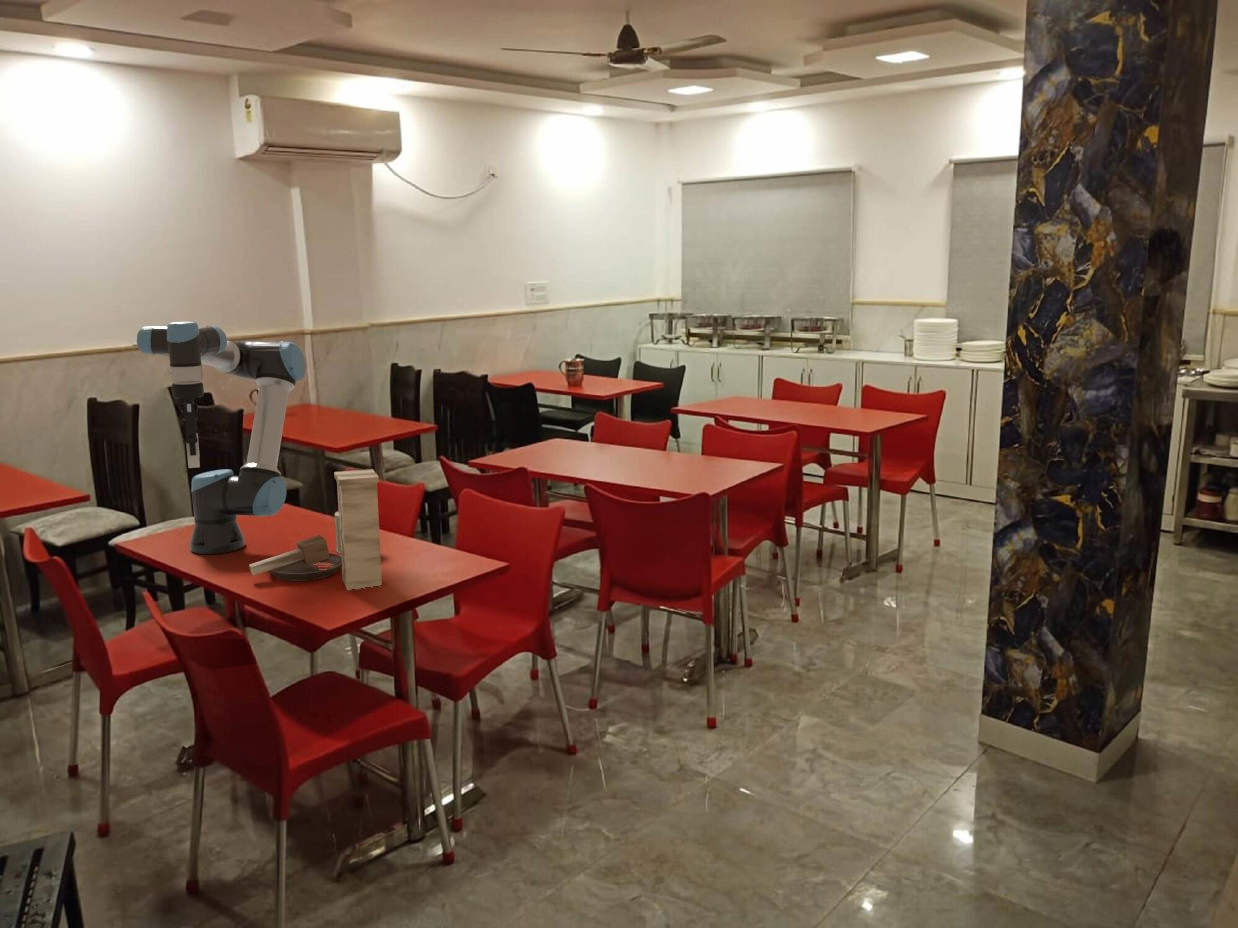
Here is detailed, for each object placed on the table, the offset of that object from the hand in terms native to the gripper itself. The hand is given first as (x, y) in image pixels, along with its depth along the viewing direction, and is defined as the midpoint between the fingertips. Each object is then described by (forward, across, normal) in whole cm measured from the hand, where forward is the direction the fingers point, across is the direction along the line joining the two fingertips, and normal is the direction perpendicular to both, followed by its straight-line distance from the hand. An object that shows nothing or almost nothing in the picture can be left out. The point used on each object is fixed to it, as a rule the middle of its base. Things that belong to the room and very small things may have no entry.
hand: (194, 462), depth 259 cm
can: (+33, -14, +41) cm, 54 cm away
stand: (+33, +18, +39) cm, 54 cm away
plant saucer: (+33, +2, +26) cm, 42 cm away
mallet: (+30, +4, +22) cm, 38 cm away
